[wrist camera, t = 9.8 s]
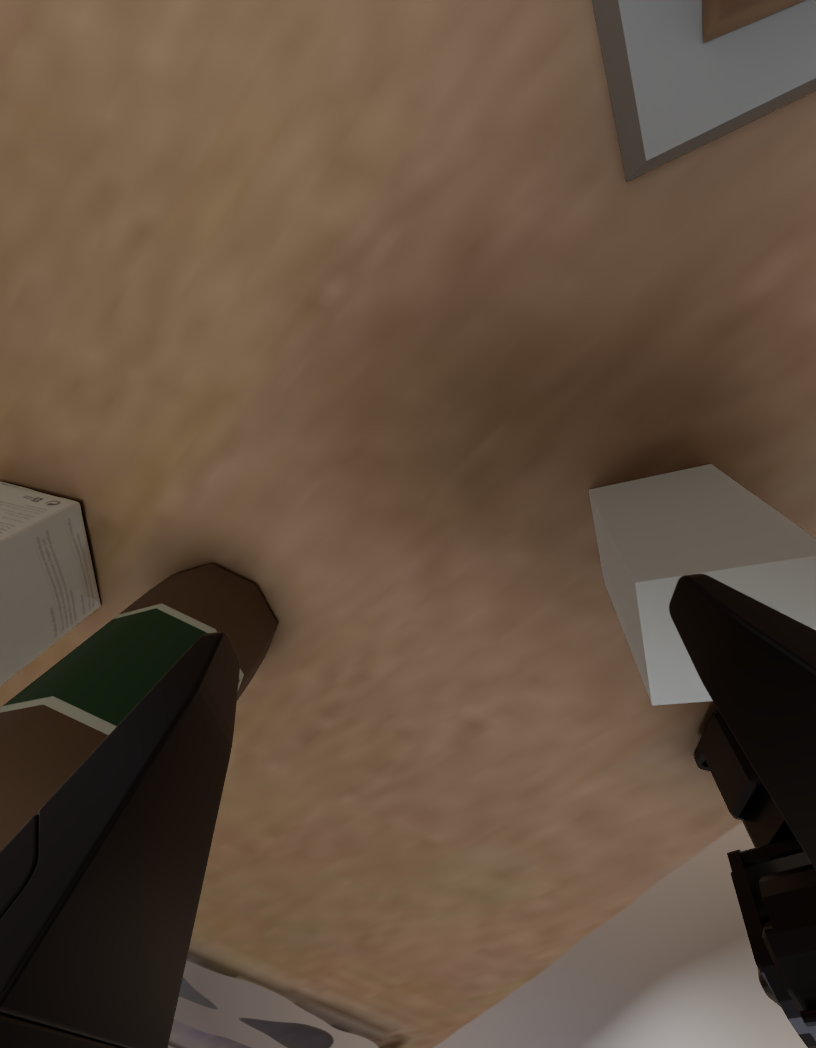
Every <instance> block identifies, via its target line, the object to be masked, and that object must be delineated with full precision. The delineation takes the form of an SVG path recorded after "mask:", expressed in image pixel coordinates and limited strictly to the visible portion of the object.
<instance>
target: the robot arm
mask: <svg viewBox="0 0 816 1048" xmlns="http://www.w3.org/2000/svg"><path fill="white" fill-rule="evenodd" d="M669 612H670V616H671V618H672V620H673V622H674V624H675V627H676V629H677V631H678V633H679V635H680V637H681V639H682V641H683V643H684V646H685V648H686V650H687V652H688V654H689V656H690V658H691V660H692V662H693V665H694V667H695V669H696V671H697V673H698V675H699V677H700V679H701V681H702V683H703V685H704V686H705V688H706V690H707V692H708V693H709V695H710V697H711V699H712V700H713V702H714V703H715V705H716V707H717V710H716V712H715V713H714V714H713V715H712V717H711V719H710V722H709V724H708V726H707V728H706V730H705V732H704V734H703V737H702V739H701V741H700V743H699V748H698V750H697V752H696V754H695V757H694V759H695V761H696V763H697V766H698V767H699V768H700V769H703V770H708V771H711V773H712V775H713V777H714V779H715V782H716V784H717V786H718V788H719V790H720V792H721V795H722V797H723V799H724V801H725V803H726V805H727V808H728V810H729V812H730V813H731V815H732V816H733V817H734V818H735V819H738V820H742V821H743V823H744V825H745V827H746V830H747V831H748V834H749V836H750V838H751V840H752V842H753V844H754V846H755V848H753V849H749V850H745V851H742V852H741V851H740V850H736V851H732V852H729V853H727V855H728V858H729V862H730V866H731V869H732V872H731V876H732V880H733V883H734V887H735V890H736V894H737V898H738V901H739V905H740V908H741V912H742V915H743V919H744V923H745V926H746V930H747V934H748V937H749V941H750V944H751V948H752V952H753V955H754V959H755V962H756V965H757V967H758V975H759V980H760V983H761V985H762V987H763V989H764V991H765V993H766V994H767V996H768V997H769V998H770V999H772V1000H773V1001H774V1002H775V1003H777V1004H778V1005H779V1006H781V1007H782V1009H783V1011H784V1013H785V1014H786V1016H787V1018H788V1019H789V1021H790V1022H791V1024H792V1026H793V1027H794V1029H795V1030H796V1032H797V1033H798V1035H799V1036H800V1037H801V1039H802V1040H803V1042H804V1043H805V1044H806V1046H807V1047H808V1048H816V630H814V629H812V628H810V627H808V626H806V625H804V624H802V623H800V622H799V621H797V620H795V619H793V618H791V617H789V616H787V615H785V614H783V613H781V612H779V611H777V610H775V609H773V608H771V607H769V606H767V605H765V604H763V603H761V602H759V601H757V600H755V599H753V598H751V597H749V596H747V595H745V594H743V593H741V592H739V591H737V590H735V589H733V588H731V587H729V586H728V585H726V584H724V583H722V582H720V581H718V580H716V579H714V578H712V577H710V576H708V575H705V574H692V575H684V576H682V577H681V578H679V580H678V582H677V584H676V587H675V590H674V592H673V595H672V598H671V600H670V603H669ZM239 672H240V663H239V658H238V656H237V654H236V651H235V649H234V647H233V645H232V643H231V641H230V639H229V636H228V635H227V634H226V633H225V632H215V633H207V634H204V635H202V636H201V637H200V638H199V639H198V640H197V641H196V642H195V643H194V644H193V645H192V646H191V647H190V648H189V649H188V650H187V651H186V652H185V654H184V655H183V656H182V657H181V658H180V659H179V660H178V661H177V662H176V663H175V664H174V665H173V666H172V668H171V669H170V670H169V671H168V672H167V673H166V674H165V675H164V676H163V677H162V678H161V679H160V680H159V682H158V683H157V684H156V685H155V686H154V687H153V688H152V689H151V690H150V691H149V692H148V693H147V694H146V695H145V697H144V698H143V699H142V700H141V701H140V702H139V703H138V704H137V705H136V706H135V707H134V708H133V709H132V711H131V712H130V713H129V714H128V715H127V716H126V717H125V718H124V719H123V720H122V721H121V722H120V723H119V724H118V726H117V727H116V728H115V729H114V730H113V731H112V732H111V733H110V734H109V735H108V736H107V737H106V738H105V740H104V741H103V742H102V743H101V744H100V745H99V746H98V747H97V748H96V749H95V750H94V751H93V752H92V754H91V755H90V756H89V757H88V758H87V759H86V760H85V761H84V762H83V763H82V764H81V765H80V766H79V767H78V769H77V770H76V771H75V772H74V773H73V774H72V775H71V776H70V777H69V778H68V779H67V780H66V781H65V783H64V784H63V785H62V786H61V787H60V788H59V789H58V790H57V791H56V792H55V793H54V794H53V795H52V796H51V798H50V799H49V800H48V801H47V802H46V803H45V804H44V805H43V806H42V807H41V808H40V810H39V812H38V814H37V815H34V816H33V817H32V818H31V819H30V820H29V821H28V822H27V823H26V824H25V825H24V826H23V827H22V828H21V830H20V831H19V832H18V833H17V834H16V835H15V836H14V837H13V838H12V839H11V840H10V841H9V842H8V843H7V844H6V846H5V847H4V848H3V849H2V850H1V851H0V1048H168V1044H169V1039H170V1034H171V1030H172V1025H173V1020H174V1015H175V1011H176V1006H177V1001H178V997H179V992H180V987H181V983H182V978H183V973H184V968H185V964H186V959H187V955H188V950H189V945H190V941H191V936H192V931H193V927H194V922H195V917H196V913H197V908H198V903H199V899H200V894H201V889H202V885H203V880H204V875H205V871H206V866H207V861H208V857H209V852H210V847H211V843H212V838H213V833H214V829H215V824H216V819H217V815H218V810H219V805H220V801H221V796H222V791H223V786H224V782H225V777H226V772H227V768H228V763H229V758H230V753H231V748H232V740H233V732H234V722H235V712H236V702H237V692H238V682H239Z"/></svg>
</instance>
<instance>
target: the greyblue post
mask: <svg viewBox="0 0 816 1048" xmlns="http://www.w3.org/2000/svg"><path fill="white" fill-rule="evenodd" d="M588 491H589V497H590V503H591V509H592V515H593V521H594V527H595V532H596V538H597V544H598V550H599V556H600V562H601V568H602V574H603V580H604V583H605V586H606V588H607V591H608V593H609V596H610V599H611V601H612V604H613V606H614V609H615V611H616V614H617V617H618V619H619V622H620V624H621V627H622V629H623V632H624V635H625V637H626V640H627V642H628V645H629V648H630V650H631V653H632V655H633V658H634V660H635V663H636V666H637V668H638V671H639V673H640V676H641V678H642V681H643V684H644V686H645V689H646V691H647V694H648V697H649V699H650V702H651V704H652V706H654V705H667V704H680V703H694V702H707V701H713V700H712V699H711V697H710V695H709V693H708V692H707V690H706V688H705V686H704V685H703V683H702V681H701V679H700V677H699V675H698V673H697V671H696V669H695V667H694V665H693V662H692V660H691V658H690V656H689V654H688V652H687V650H686V648H685V646H684V643H683V641H682V639H681V637H680V635H679V633H678V631H677V629H676V627H675V624H674V622H673V620H672V618H671V616H670V612H669V603H670V600H671V598H672V595H673V592H674V590H675V587H676V584H677V582H678V580H679V578H681V577H682V576H684V575H692V574H705V575H708V576H710V577H712V578H714V579H716V580H718V581H720V582H722V583H724V584H726V585H728V586H729V587H731V588H733V589H735V590H737V591H739V592H741V593H743V594H745V595H747V596H749V597H751V598H753V599H755V600H757V601H759V602H761V603H763V604H765V605H767V606H769V607H771V608H773V609H775V610H777V611H779V612H781V613H783V614H785V615H787V616H789V617H791V618H793V619H795V620H797V621H799V622H800V623H802V624H804V625H806V626H808V627H810V628H812V629H814V630H816V538H814V537H813V536H812V535H810V534H809V533H807V532H806V531H805V530H803V529H802V528H800V527H799V526H798V525H796V524H795V523H793V522H792V521H791V520H789V519H788V518H786V517H785V516H784V515H782V514H781V513H779V512H778V511H777V510H775V509H774V508H772V507H771V506H770V505H768V504H767V503H765V502H764V501H763V500H761V499H760V498H758V497H757V496H756V495H754V494H753V493H751V492H750V491H749V490H747V489H746V488H744V487H743V486H742V485H740V484H739V483H737V482H736V481H735V480H733V479H732V478H730V477H729V476H727V475H726V474H725V473H723V472H722V471H720V470H719V469H718V468H716V467H715V466H713V465H712V464H708V465H703V466H699V467H694V468H689V469H684V470H680V471H675V472H670V473H665V474H661V475H656V476H651V477H646V478H642V479H637V480H632V481H627V482H623V483H618V484H613V485H608V486H604V487H599V488H594V489H589V490H588Z"/></svg>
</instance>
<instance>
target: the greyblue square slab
mask: <svg viewBox="0 0 816 1048" xmlns="http://www.w3.org/2000/svg"><path fill="white" fill-rule="evenodd" d="M592 4H593V9H594V14H595V20H596V25H597V30H598V35H599V41H600V46H601V51H602V56H603V62H604V67H605V72H606V78H607V83H608V88H609V93H610V99H611V104H612V109H613V114H614V120H615V125H616V130H617V135H618V141H619V146H620V151H621V156H622V162H623V167H624V172H625V178H626V182H628V181H630V180H632V179H634V178H636V177H638V176H640V175H642V174H644V173H646V172H648V171H650V170H652V169H655V168H657V167H659V166H661V165H663V164H665V163H667V162H669V161H671V160H673V159H675V158H677V157H679V156H681V155H684V154H686V153H688V152H690V151H692V150H694V149H696V148H698V147H700V146H702V145H704V144H706V143H708V142H711V141H713V140H715V139H717V138H719V137H721V136H723V135H725V134H727V133H729V132H731V131H733V130H735V129H737V128H740V127H742V126H744V125H746V124H748V123H750V122H752V121H754V120H756V119H758V118H760V117H762V116H764V115H767V114H769V113H771V112H773V111H775V110H777V109H779V108H781V107H783V106H785V105H787V104H789V103H791V102H793V101H796V100H798V99H800V98H802V97H804V96H806V95H808V94H810V93H812V92H814V91H816V0H805V1H802V2H800V3H797V4H795V5H793V6H790V7H788V8H786V9H783V10H781V11H778V12H776V13H774V14H771V15H769V16H767V17H764V18H762V19H760V20H757V21H755V22H752V23H750V24H748V25H745V26H743V27H741V28H738V29H736V30H733V31H731V32H729V33H726V34H724V35H722V36H719V37H717V38H715V39H712V40H710V41H707V42H705V43H703V13H702V0H592Z"/></svg>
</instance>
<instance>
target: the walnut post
mask: <svg viewBox="0 0 816 1048" xmlns="http://www.w3.org/2000/svg"><path fill="white" fill-rule="evenodd" d="M802 1H805V0H702V13H703V43H705V42H707V41H710V40H712V39H715V38H717V37H719V36H722V35H724V34H726V33H729V32H731V31H733V30H736V29H738V28H741V27H743V26H745V25H748V24H750V23H752V22H755V21H757V20H760V19H762V18H764V17H767V16H769V15H771V14H774V13H776V12H778V11H781V10H783V9H786V8H788V7H790V6H793V5H795V4H797V3H800V2H802Z"/></svg>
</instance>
